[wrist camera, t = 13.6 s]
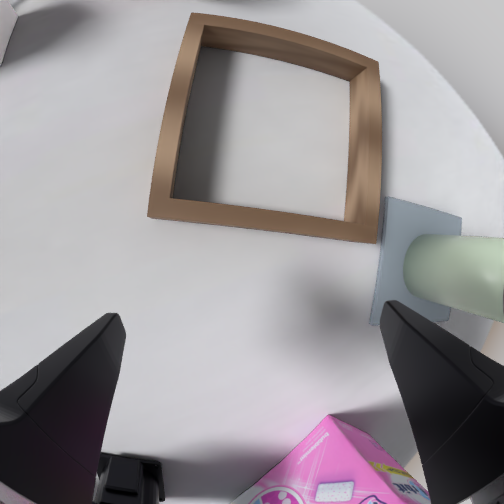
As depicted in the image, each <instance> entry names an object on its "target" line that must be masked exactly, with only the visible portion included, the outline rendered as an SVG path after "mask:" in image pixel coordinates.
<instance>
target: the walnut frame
mask: <svg viewBox="0 0 504 504" xmlns="http://www.w3.org/2000/svg"><path fill="white" fill-rule="evenodd" d="M201 46H203V47H211V48H219V49H225V50H232V51H237V52H243V53H248V54H253V55H258V56H263V57H268V58H272V59H276V60H281V61H285V62H289V63H292V64H296V65H300V66H303V67H307V68H310V69H314V70H317V71H320V72H323V73H327V74H330V75H333V76H336V77H339V78H342V79H344V80H347V81H350V128H349V156H348V175H347V190H346V203H345V214H344V221H338V220H332V219H326V218H320V217H313V216H307V215H300V214H294V213H287V212H280V211H273V210H265V209H258V208H250V207H243V206H235V205H227V204H218V203H210V202H201V201H192V200H183V199H173V191H174V183H175V176H176V170H177V163H178V157H179V151H180V145H181V139H182V133H183V127H184V122H185V117H186V112H187V107H188V102H189V97H190V92H191V87H192V83H193V78H194V74H195V70H196V65H197V61H198V57H199V53H200V49H201ZM381 164H382V115H381V91H380V75H379V63H378V61H375V60H373V59H371V58H368V57H366V56H364V55H361V54H359V53H356V52H354V51H351V50H349V49H346V48H344V47H341V46H338V45H335V44H333V43H330V42H327V41H324V40H321V39H318V38H315V37H312V36H308V35H305V34H302V33H298V32H295V31H291V30H287V29H283V28H279V27H275V26H271V25H267V24H262V23H258V22H253V21H248V20H242V19H237V18H231V17H224V16H217V15H209V14H201V13H191V15H190V18H189V21H188V24H187V27H186V31H185V34H184V37H183V40H182V44H181V47H180V51H179V54H178V58H177V61H176V65H175V69H174V73H173V77H172V81H171V85H170V89H169V93H168V97H167V102H166V106H165V111H164V115H163V120H162V125H161V130H160V135H159V140H158V146H157V152H156V157H155V163H154V170H153V176H152V183H151V190H150V197H149V205H148V213H147V217H150V218H153V219H163V220H173V221H183V222H193V223H202V224H211V225H221V226H230V227H238V228H247V229H256V230H264V231H273V232H281V233H289V234H297V235H305V236H313V237H321V238H328V239H336V240H343V241H351V242H360V243H371V244H376V240H377V230H378V219H379V206H380V189H381Z"/></svg>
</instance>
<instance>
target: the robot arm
mask: <svg viewBox="0 0 504 504" xmlns="http://www.w3.org/2000/svg"><path fill="white" fill-rule="evenodd" d="M380 329H381V332H382V336H383V340H384V344H385V348H386V351H387V356H388V359H389V363H390V366H391V369H392V371H393V374H394V377H395V380H396V382H397V385H398V388H399V391H400V394H401V397H402V400H403V403H404V406H405V409H406V412H407V415H408V418H409V421H410V425H411V428H412V431H413V435H414V438H415V441H416V445H417V448H418V452H419V455H420V459H421V463H422V464H423V465H422V467H423V471H424V475H425V479H426V483H427V487H428V492H429V496H430V501H431V504H459V503H461V502H463V501H465V500H467V499H469V498H470V499H471V502H472V504H504V366H503V365H501V364H499V363H497V362H495V361H494V360H492V359H490V358H488V357H487V356H485V355H484V354H482V353H480V352H479V351H477V350H476V349H474V348H473V347H470V346H469V345H468V344H466V343H465V342H463V341H462V340H460V339H459V338H457V337H455V336H454V335H452V334H451V333H449V332H448V331H446V330H444V329H443V328H441V327H440V326H438V325H436V324H435V323H433V322H432V321H430V320H428V319H427V318H425V317H424V316H422V315H420V314H419V313H417V312H416V311H414V310H412V309H411V308H409V307H407V306H406V305H404V304H402V303H401V302H399V301H397V300H388V301H385V303H384V305H383V309H382V313H381V316H380ZM125 339H126V332H125V329H124V326H123V323H122V321H121V318H120V316H119V314H117V313H106V314H105V315H103V316H102V317H101V318H99V319H98V320H96V321H95V322H94V323H92V324H91V325H90V326H88V327H87V328H86V329H84V330H83V331H81V332H80V333H79V334H77V335H76V336H75V337H73V338H72V339H71V340H69V341H68V342H67V343H65V344H64V345H63V346H61V347H60V348H59V349H57V350H56V351H55V352H53V353H52V354H51V355H49V356H48V357H47V358H45V359H44V360H43V361H41V362H40V363H39V364H38V365H36V366H35V367H34V368H32V369H31V370H30V371H28V372H27V373H26V374H24V375H23V376H22V377H20V378H19V379H17V380H16V381H14V382H13V383H12V384H10V385H9V386H7V387H6V388H4V389H3V390H1V391H0V504H159V502H163V501H165V493H164V484H163V474H162V465H161V463H160V462H158V461H151V460H141V459H133V458H126V457H119V456H113V455H107V454H102V453H100V452H101V448H102V443H103V438H104V434H105V429H106V425H107V420H108V416H109V412H110V408H111V404H112V400H113V396H114V392H115V389H116V385H117V381H118V377H119V373H120V368H121V362H122V356H123V350H124V345H125ZM155 465H156V466H155ZM96 474H98V477H99V480H100V481H99V485H98V490H97V494H96V499H95V502H93V501H92V500H93V493H94V487H95V480H96Z"/></svg>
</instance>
